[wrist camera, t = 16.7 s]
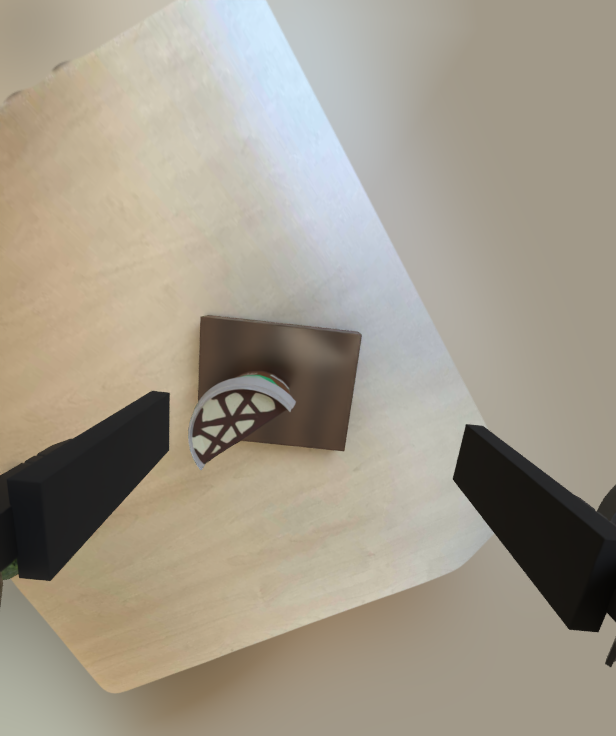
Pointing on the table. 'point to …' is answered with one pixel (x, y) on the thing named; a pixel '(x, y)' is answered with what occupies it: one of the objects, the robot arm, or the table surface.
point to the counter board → (287, 374)
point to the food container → (235, 412)
